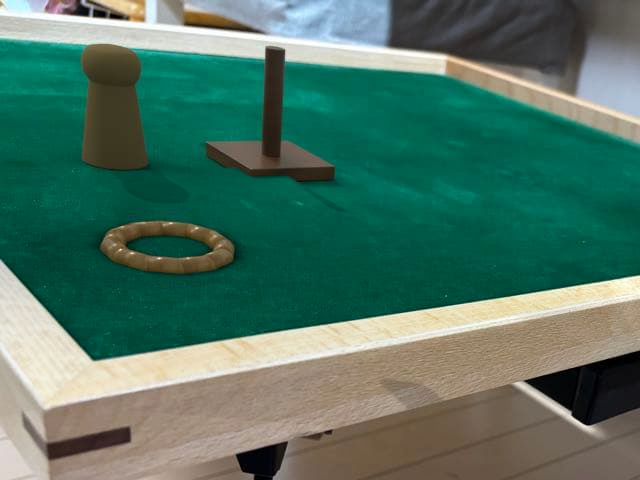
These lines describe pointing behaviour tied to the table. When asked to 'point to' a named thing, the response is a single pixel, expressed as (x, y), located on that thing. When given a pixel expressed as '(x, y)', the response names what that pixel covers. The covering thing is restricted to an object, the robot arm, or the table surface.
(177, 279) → the table surface
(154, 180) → the table surface
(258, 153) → the post
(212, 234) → the ring
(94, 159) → the cork
